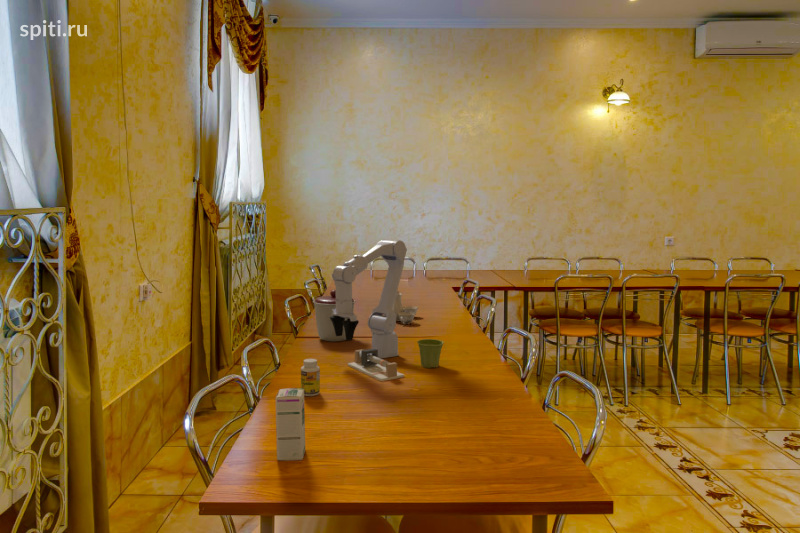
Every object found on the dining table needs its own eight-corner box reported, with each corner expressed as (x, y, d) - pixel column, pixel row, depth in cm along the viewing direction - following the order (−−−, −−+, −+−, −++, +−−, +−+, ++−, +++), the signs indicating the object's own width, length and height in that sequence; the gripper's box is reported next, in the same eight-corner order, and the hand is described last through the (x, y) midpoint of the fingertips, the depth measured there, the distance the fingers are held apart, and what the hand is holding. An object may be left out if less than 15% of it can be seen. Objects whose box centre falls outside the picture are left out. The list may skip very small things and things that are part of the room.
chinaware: (417, 329, 268) (421, 295, 266) (382, 325, 268) (386, 291, 266) (416, 318, 296) (420, 287, 294) (385, 314, 296) (388, 283, 294)
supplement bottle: (297, 395, 165) (297, 361, 164) (306, 390, 171) (306, 357, 170) (314, 397, 164) (314, 363, 163) (322, 392, 169) (322, 358, 168)
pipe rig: (347, 365, 198) (347, 351, 198) (369, 361, 203) (369, 348, 203) (381, 381, 180) (381, 365, 180) (404, 376, 185) (404, 361, 185)
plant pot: (447, 364, 201) (447, 340, 201) (437, 371, 193) (438, 346, 192) (422, 361, 205) (423, 337, 204) (412, 367, 197) (413, 343, 196)
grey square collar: (361, 364, 194) (361, 350, 194) (374, 362, 197) (374, 348, 197) (364, 366, 192) (365, 351, 192) (377, 364, 195) (377, 349, 195)
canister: (344, 345, 228) (345, 294, 225) (305, 341, 233) (305, 291, 231) (362, 336, 245) (362, 288, 243) (324, 333, 250) (324, 286, 248)
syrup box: (303, 460, 123) (302, 396, 121) (275, 461, 122) (275, 396, 121) (305, 449, 128) (305, 387, 127) (279, 449, 128) (278, 388, 126)
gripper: (324, 298, 200) (324, 335, 201) (343, 303, 188) (343, 343, 189) (341, 296, 204) (342, 333, 205) (361, 302, 192) (361, 340, 193)
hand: (344, 338), depth 198 cm, fingers open, 7 cm apart
